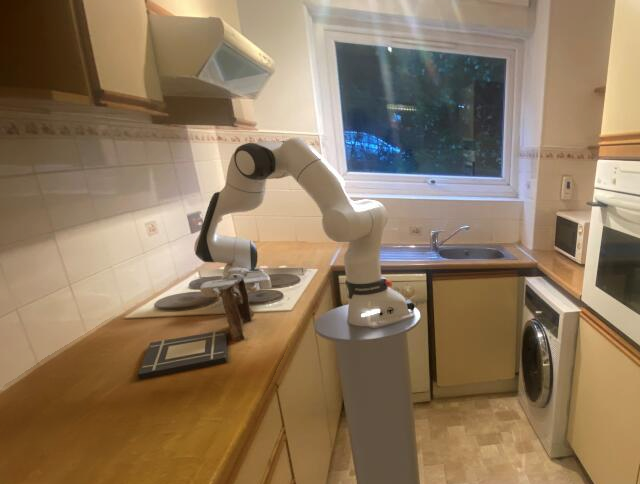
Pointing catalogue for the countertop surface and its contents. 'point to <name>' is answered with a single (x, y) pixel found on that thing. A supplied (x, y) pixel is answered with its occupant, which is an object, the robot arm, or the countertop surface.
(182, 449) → the countertop surface
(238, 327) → the mineral sample
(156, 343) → the board
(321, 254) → the countertop surface
